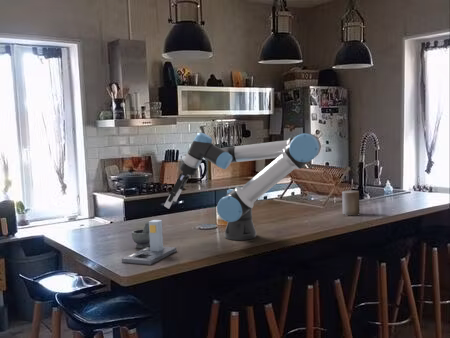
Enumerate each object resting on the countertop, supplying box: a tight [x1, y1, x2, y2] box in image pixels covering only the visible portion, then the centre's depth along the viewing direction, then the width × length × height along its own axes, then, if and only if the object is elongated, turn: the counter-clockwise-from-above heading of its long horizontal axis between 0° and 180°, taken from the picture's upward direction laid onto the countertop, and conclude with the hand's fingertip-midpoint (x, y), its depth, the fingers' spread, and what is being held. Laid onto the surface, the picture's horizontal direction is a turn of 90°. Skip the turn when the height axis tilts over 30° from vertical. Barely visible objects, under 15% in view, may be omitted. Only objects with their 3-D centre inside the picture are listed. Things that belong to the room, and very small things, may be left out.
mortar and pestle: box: [131, 220, 150, 249], centre depth 219 cm, size 11×9×12 cm
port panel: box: [121, 246, 177, 266], centre depth 201 cm, size 22×13×2 cm, turn 158°
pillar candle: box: [341, 189, 361, 216], centre depth 282 cm, size 10×10×15 cm
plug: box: [149, 219, 164, 252], centre depth 205 cm, size 4×5×14 cm
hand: (170, 203), depth 227 cm, fingers open, 13 cm apart
